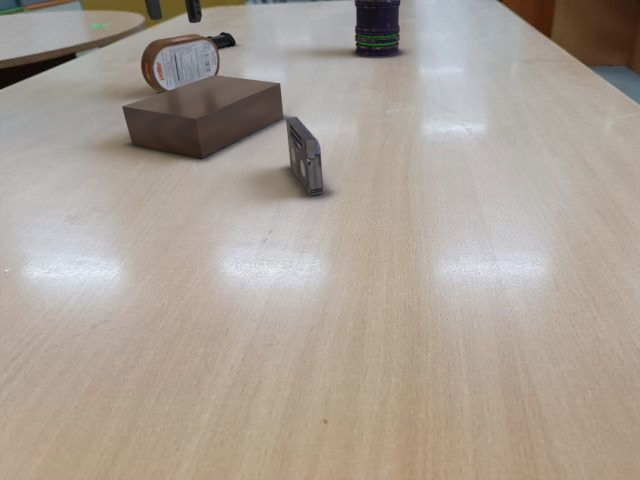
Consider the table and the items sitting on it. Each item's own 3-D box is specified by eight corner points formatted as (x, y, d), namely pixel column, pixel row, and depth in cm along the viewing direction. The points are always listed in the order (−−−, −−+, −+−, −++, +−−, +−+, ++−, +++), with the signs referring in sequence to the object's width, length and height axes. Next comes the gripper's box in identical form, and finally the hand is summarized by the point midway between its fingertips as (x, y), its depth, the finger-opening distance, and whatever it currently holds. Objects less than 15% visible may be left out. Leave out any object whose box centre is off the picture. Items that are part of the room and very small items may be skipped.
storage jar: (387, 46, 120) (388, -27, 111) (407, 54, 112) (410, -24, 104) (348, 50, 116) (346, -25, 108) (365, 59, 109) (365, -22, 101)
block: (131, 144, 67) (121, 106, 65) (220, 107, 81) (214, 74, 78) (202, 158, 63) (194, 118, 60) (283, 117, 76) (280, 83, 73)
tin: (214, 78, 97) (206, 29, 92) (226, 80, 95) (218, 31, 90) (146, 96, 86) (133, 43, 82) (158, 99, 85) (145, 45, 80)
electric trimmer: (175, 56, 114) (172, 41, 112) (226, 44, 125) (224, 29, 123) (186, 58, 112) (183, 43, 111) (237, 45, 123) (235, 31, 121)
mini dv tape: (323, 194, 54) (320, 139, 51) (309, 196, 54) (305, 141, 50) (303, 166, 61) (299, 115, 57) (290, 168, 60) (285, 117, 57)
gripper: (97, -99, 75) (127, 22, 85) (169, -103, 70) (193, 27, 79) (136, -98, 81) (160, 15, 90) (206, -101, 76) (224, 20, 85)
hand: (175, 21), depth 85 cm, fingers open, 8 cm apart
